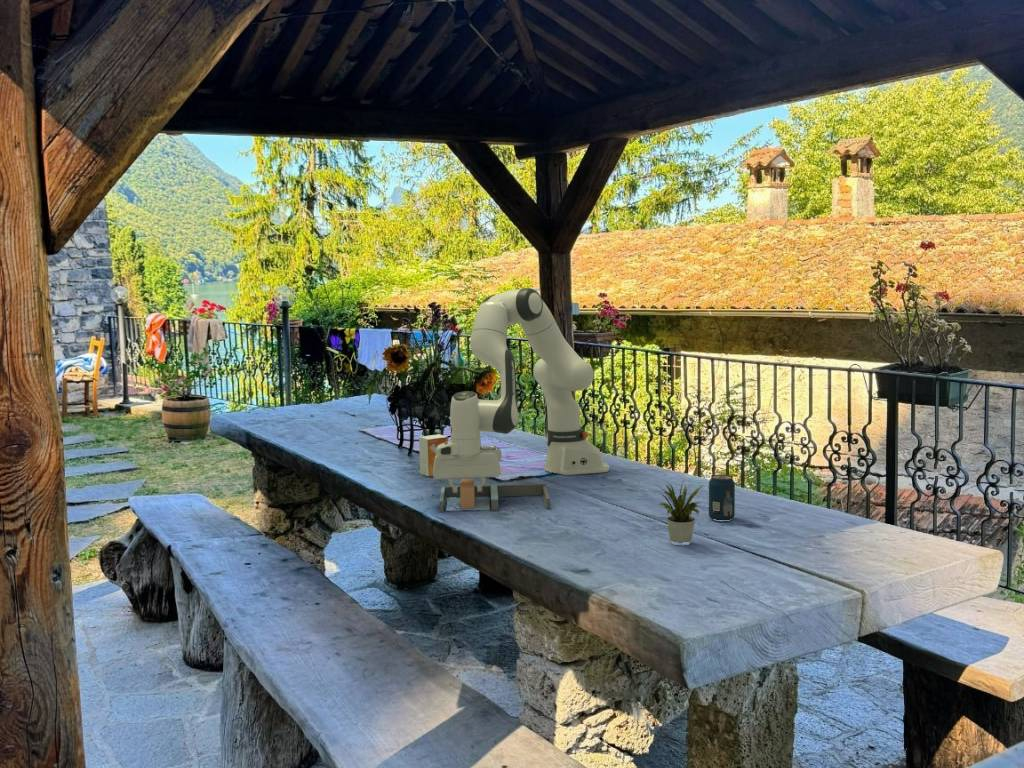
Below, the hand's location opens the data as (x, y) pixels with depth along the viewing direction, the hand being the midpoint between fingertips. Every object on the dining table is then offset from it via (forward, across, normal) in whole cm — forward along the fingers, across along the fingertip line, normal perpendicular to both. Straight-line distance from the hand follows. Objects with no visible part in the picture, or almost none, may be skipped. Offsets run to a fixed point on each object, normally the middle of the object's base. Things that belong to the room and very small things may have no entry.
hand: (467, 492), depth 276 cm
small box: (+4, +12, -43) cm, 45 cm away
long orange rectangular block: (+3, 0, 0) cm, 3 cm away
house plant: (+4, -53, +45) cm, 70 cm away
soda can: (+4, -70, +25) cm, 74 cm away
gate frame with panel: (+4, -8, 0) cm, 9 cm away
